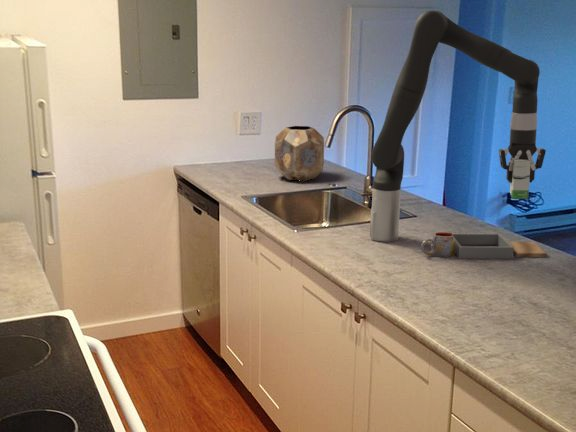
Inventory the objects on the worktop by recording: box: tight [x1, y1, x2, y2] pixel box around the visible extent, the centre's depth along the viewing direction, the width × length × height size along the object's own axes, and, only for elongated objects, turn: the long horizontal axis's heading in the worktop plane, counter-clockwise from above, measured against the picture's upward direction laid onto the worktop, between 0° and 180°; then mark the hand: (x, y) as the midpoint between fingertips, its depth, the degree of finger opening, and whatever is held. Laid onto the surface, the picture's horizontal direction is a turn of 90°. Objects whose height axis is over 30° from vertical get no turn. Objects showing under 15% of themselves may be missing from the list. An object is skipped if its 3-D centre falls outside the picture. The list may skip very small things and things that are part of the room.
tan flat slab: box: [508, 241, 547, 258], centre depth 222 cm, size 9×12×1 cm
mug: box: [420, 231, 455, 258], centre depth 217 cm, size 12×7×7 cm, turn 114°
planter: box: [274, 125, 325, 182], centre depth 322 cm, size 22×24×24 cm
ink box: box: [509, 158, 531, 200], centre depth 215 cm, size 9×5×12 cm, turn 168°
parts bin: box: [452, 233, 514, 259], centre depth 222 cm, size 17×15×4 cm
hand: (520, 181), depth 215 cm, fingers closed on ink box, 5 cm apart
